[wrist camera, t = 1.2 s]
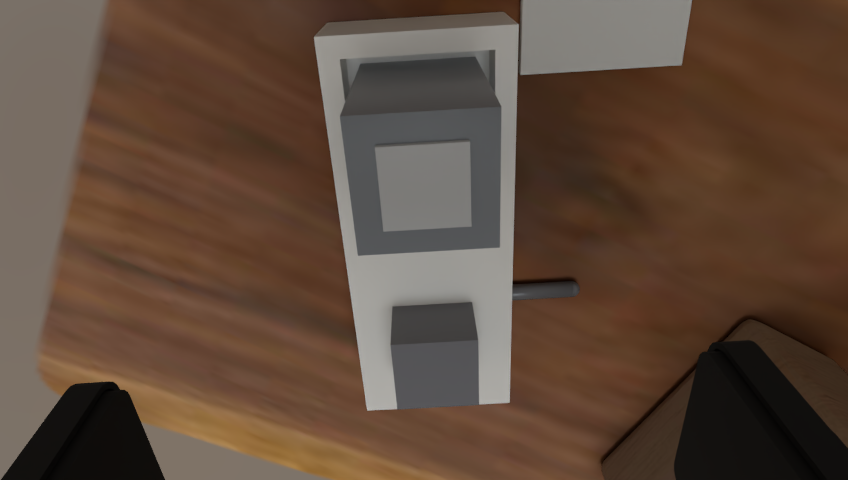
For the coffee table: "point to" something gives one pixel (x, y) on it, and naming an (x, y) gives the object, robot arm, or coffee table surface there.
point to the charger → (423, 156)
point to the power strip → (438, 270)
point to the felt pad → (601, 34)
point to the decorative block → (660, 432)
